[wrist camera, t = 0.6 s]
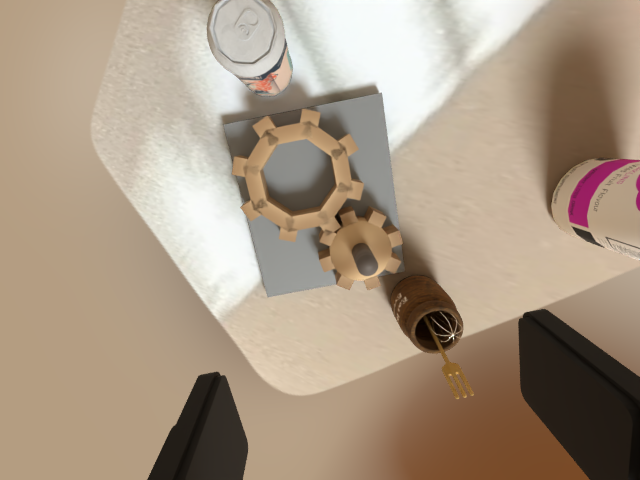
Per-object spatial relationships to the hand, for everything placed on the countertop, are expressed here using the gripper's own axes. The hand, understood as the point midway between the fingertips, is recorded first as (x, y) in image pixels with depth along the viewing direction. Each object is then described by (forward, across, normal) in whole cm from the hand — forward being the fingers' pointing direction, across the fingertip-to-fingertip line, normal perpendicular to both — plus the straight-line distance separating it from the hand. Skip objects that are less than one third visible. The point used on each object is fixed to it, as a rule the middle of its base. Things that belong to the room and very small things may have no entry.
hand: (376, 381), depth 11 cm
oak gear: (+25, +2, -4) cm, 25 cm away
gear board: (+26, +1, -1) cm, 26 cm away
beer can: (+26, +3, -14) cm, 30 cm away
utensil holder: (+26, -8, +12) cm, 30 cm away
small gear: (+25, -2, +4) cm, 25 cm away
